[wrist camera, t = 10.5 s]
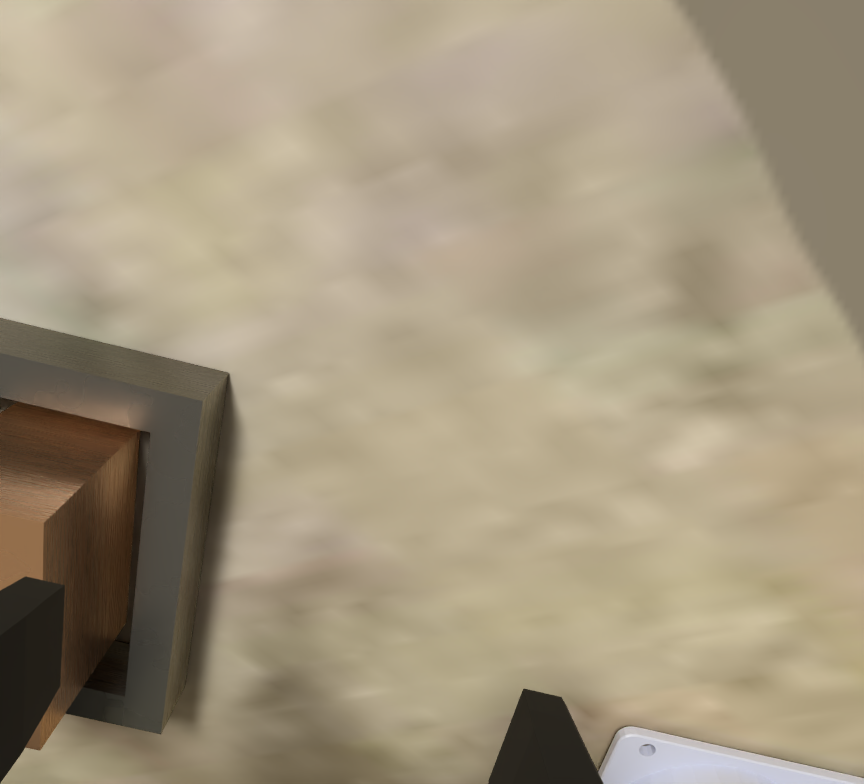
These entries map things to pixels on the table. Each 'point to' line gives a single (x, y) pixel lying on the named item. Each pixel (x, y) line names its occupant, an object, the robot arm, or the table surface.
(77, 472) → the brown rectangular block
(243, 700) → the table surface
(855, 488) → the table surface
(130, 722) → the duct collar
